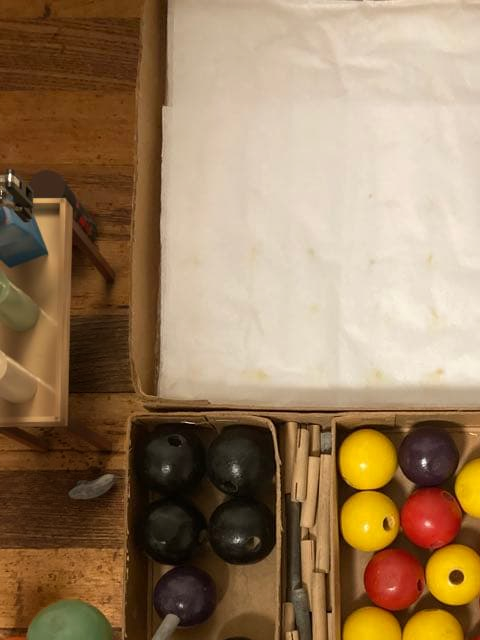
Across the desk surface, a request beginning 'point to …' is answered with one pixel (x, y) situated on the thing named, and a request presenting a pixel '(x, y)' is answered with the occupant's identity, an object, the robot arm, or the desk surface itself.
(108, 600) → the desk surface
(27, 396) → the cream bottle
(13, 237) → the perfume bottle
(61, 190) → the deodorant
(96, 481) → the fossil
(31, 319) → the sage bottle
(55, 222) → the tray stand
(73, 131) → the desk surface
